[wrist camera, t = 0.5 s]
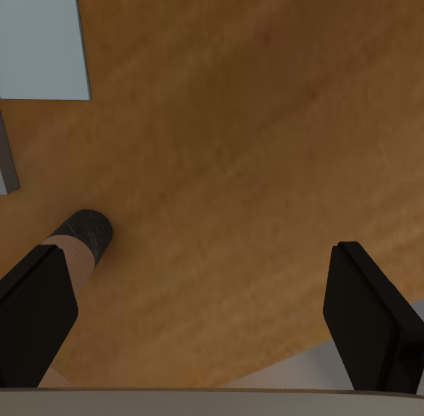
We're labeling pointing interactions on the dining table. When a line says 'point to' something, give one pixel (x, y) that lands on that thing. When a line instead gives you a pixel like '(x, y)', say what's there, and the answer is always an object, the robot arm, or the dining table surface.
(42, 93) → the rubber mat
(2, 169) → the power strip
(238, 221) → the dining table surface
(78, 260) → the travel mug
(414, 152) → the dining table surface
